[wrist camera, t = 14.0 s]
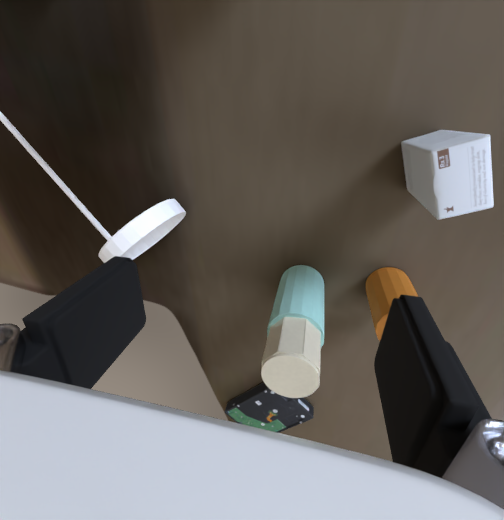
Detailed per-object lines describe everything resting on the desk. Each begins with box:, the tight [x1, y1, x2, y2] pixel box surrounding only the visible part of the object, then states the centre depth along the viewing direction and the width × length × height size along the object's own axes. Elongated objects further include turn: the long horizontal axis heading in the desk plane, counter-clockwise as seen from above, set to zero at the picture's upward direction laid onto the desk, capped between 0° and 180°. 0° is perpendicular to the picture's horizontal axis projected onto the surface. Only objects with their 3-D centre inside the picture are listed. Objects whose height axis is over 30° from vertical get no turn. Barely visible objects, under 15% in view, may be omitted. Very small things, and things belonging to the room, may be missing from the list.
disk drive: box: [225, 382, 314, 433], centre depth 57 cm, size 10×3×15 cm
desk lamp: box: [0, 111, 186, 263], centre depth 35 cm, size 12×22×45 cm
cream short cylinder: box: [261, 316, 321, 398], centre depth 31 cm, size 6×6×6 cm
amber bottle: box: [365, 267, 418, 340], centre depth 36 cm, size 6×6×14 cm
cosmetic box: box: [401, 130, 494, 220], centre depth 28 cm, size 6×4×12 cm
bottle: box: [267, 265, 324, 347], centre depth 37 cm, size 7×7×16 cm
